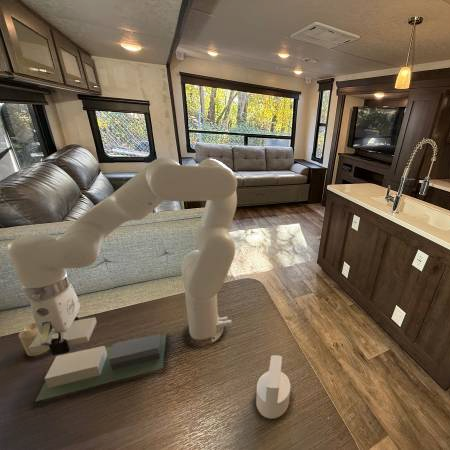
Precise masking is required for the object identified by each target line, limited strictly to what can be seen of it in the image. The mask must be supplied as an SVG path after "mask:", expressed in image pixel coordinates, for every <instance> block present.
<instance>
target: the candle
mask: <svg viewBox="0 0 450 450" xmlns="http://www.w3.org/2000/svg"><path fill="white" fill-rule="evenodd" d="M38 333H39V331H38V328H37V326H36V323H35V322H33V323H31V324H26V325H25V326H24V327H23V328H22V329H21V330H20V332H19V333H18V339H19V341H20V342H21V344H22V346H23V348H24V351H25V352H26V354H27V356H28V357H37V356H39V355H42V354H44V353H45V352H47V351H48V350H44V351H39V352H34V353H31V351H30V349H29V347H30V345H31V344H32V342H33V341H34V339H35V338H36V336H37V335H38Z"/></svg>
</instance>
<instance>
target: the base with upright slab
mask: <svg viewBox="0 0 450 450" xmlns="http://www.w3.org/2000/svg"><path fill="white" fill-rule="evenodd" d="M282 363H283V356H282V355H278V354H274V355H273V354H272V355H270V362H269V367H268V371H266V372H264V373H263V374H262V375H261V376H260V377H259V378H258V379H257V383H256V395H255V396H256V399H255V404H256V408H257V411H258V412H259V414H260V415H261V416H262V417H264V418H266V419H271V420H272V419H277V418H279V417H281V416H282V415H284V414H285V413H286V411H287V409H288V408H289V405H290V398H291V397H290V394H291V381H290V379H289V377H288V376H287V375H286V374H285V373H284V372H282V366H283V365H282Z"/></svg>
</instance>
